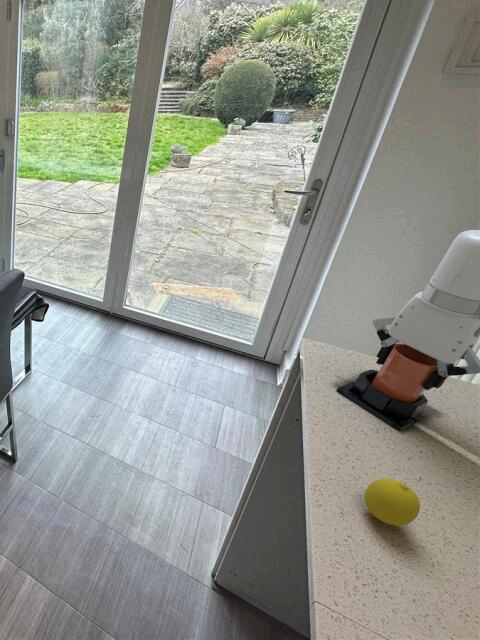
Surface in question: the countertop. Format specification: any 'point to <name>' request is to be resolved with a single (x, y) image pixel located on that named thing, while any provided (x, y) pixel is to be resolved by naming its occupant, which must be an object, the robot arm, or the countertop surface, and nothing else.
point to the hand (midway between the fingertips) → (404, 373)
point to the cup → (404, 373)
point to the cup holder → (382, 402)
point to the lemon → (392, 501)
